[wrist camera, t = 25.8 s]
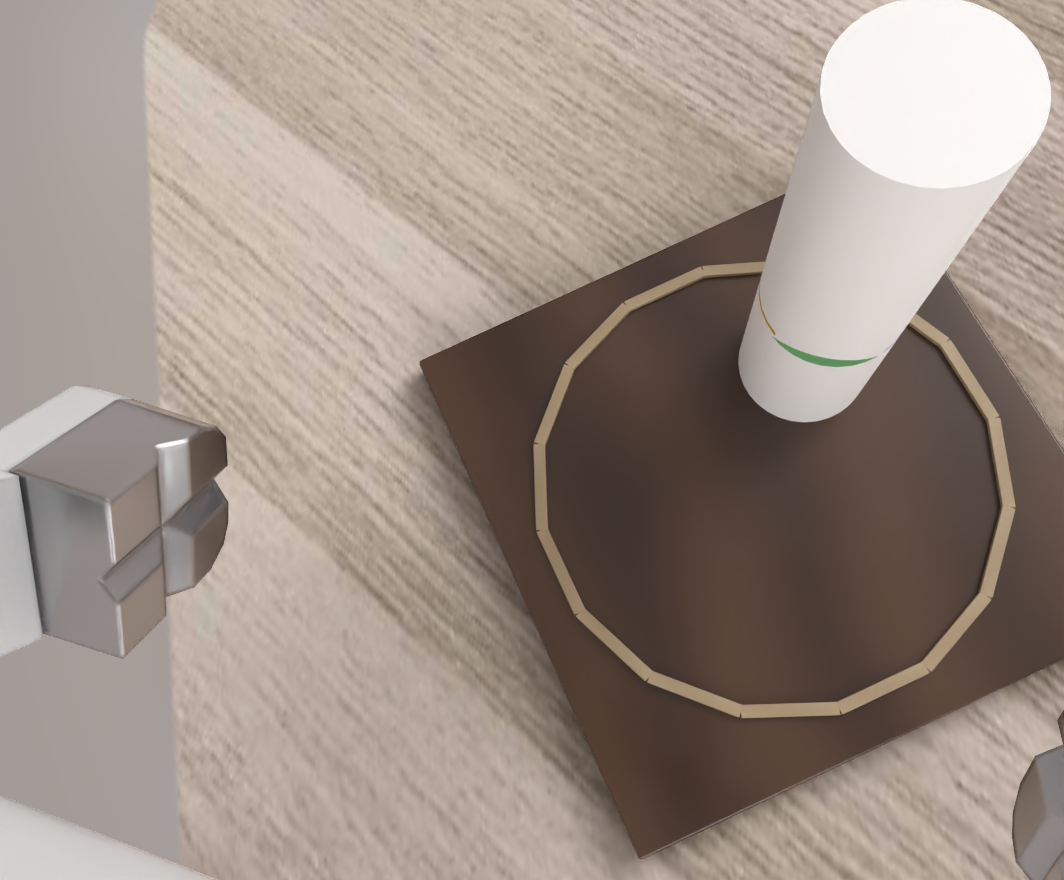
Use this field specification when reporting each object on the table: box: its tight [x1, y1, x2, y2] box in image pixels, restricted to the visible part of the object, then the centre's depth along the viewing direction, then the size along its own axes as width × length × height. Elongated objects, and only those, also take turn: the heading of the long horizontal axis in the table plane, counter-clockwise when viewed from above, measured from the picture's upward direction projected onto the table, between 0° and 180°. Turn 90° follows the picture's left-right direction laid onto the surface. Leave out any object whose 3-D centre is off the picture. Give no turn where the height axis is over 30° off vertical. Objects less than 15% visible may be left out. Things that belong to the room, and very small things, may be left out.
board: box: [420, 194, 1064, 859], centre depth 32 cm, size 18×18×1 cm
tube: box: [738, 0, 1051, 422], centre depth 26 cm, size 4×4×15 cm
